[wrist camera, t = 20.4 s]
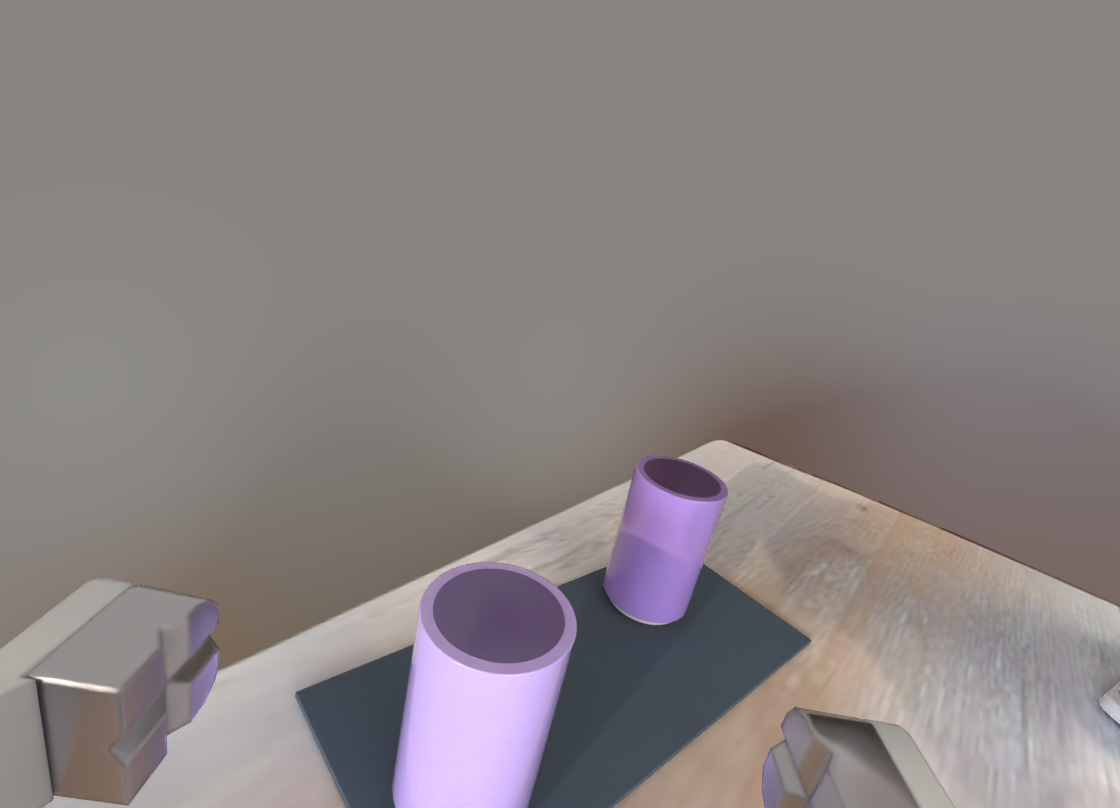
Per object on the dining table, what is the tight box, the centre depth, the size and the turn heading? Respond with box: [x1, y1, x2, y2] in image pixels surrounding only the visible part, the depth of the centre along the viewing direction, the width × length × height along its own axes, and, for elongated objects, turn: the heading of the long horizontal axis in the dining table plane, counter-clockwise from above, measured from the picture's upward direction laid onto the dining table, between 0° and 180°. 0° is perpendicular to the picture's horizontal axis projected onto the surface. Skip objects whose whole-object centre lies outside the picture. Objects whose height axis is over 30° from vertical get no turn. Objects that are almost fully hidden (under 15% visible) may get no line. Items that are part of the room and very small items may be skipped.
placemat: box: [296, 564, 811, 808], centre depth 34 cm, size 31×13×1 cm, turn 132°
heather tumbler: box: [603, 456, 728, 625], centre depth 39 cm, size 6×6×10 cm
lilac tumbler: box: [392, 562, 577, 808], centre depth 24 cm, size 6×6×10 cm
